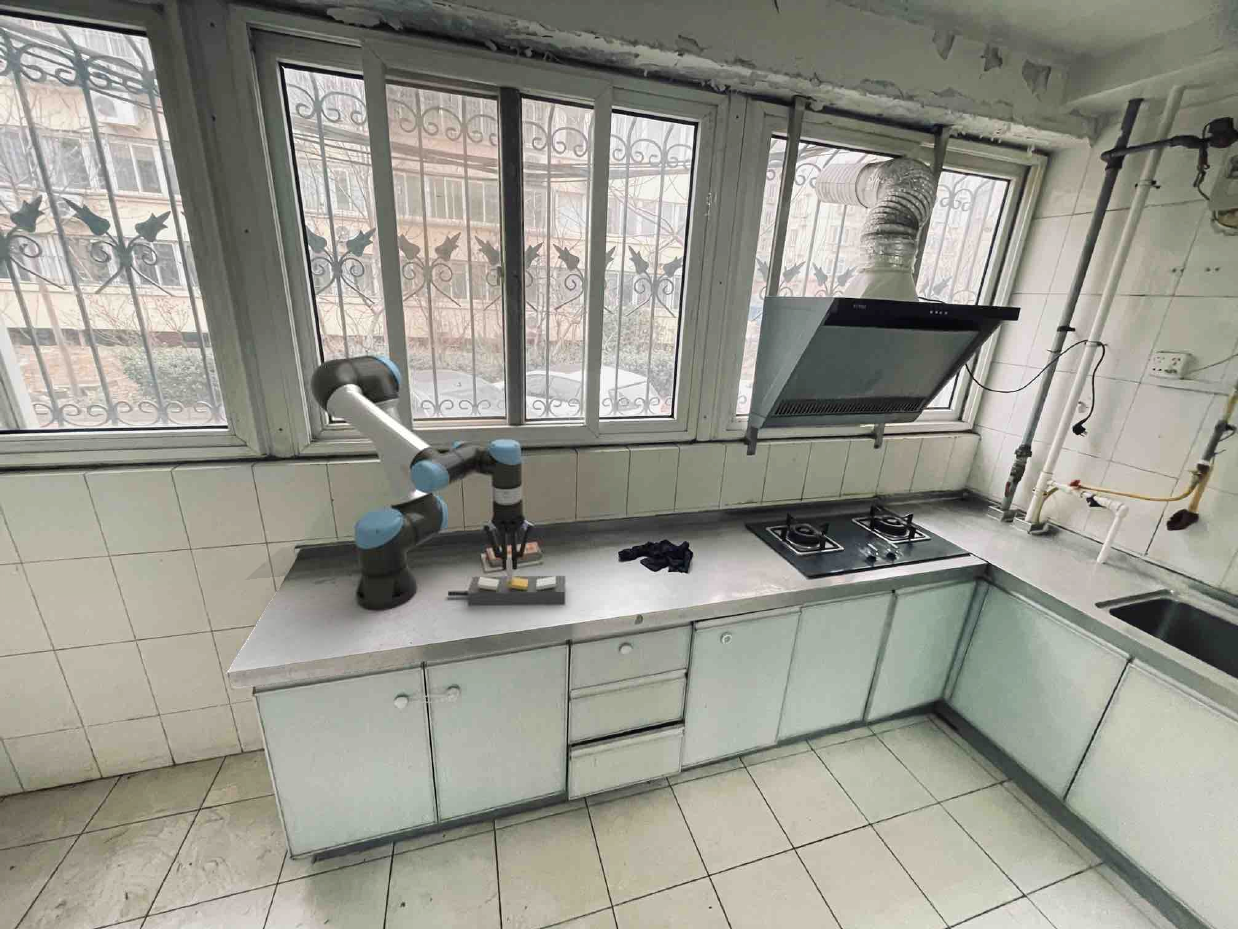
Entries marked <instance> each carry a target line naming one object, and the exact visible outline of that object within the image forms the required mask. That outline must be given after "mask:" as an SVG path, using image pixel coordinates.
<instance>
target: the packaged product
mask: <svg viewBox="0 0 1238 929" xmlns="http://www.w3.org/2000/svg"><path fill="white" fill-rule="evenodd" d="M520 547H521V543H517V552H518V551H520ZM499 548H500V551H501V546H499ZM501 552H502V551H501ZM507 552H508V554H507V556H512V553H511V544H510V545H507ZM480 557H481V561H482V565H483V571H484V572H485V573H486V574H487V573H493V572H496V571H504V570H503V568H502V559H501V558H495V556H494V552H493V549H492V547H489V548H486V549H485V553H481V554H480ZM543 564H544V560H543V558H542V551H541V548H540V546H539V544H538V542H537V541H533V542H526V546H525V550H524V554H523V557H522V558H517V569H520V568H525V567H531V566H534V565H535V566H537V565H543Z"/></svg>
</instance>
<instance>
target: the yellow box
mask: <svg viewBox="0 0 1238 929" xmlns="http://www.w3.org/2000/svg"><path fill="white" fill-rule="evenodd" d="M527 585H528V579H522V578H516V577H513V582H508V587H511V588H517V589H524V590H527Z"/></svg>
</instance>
